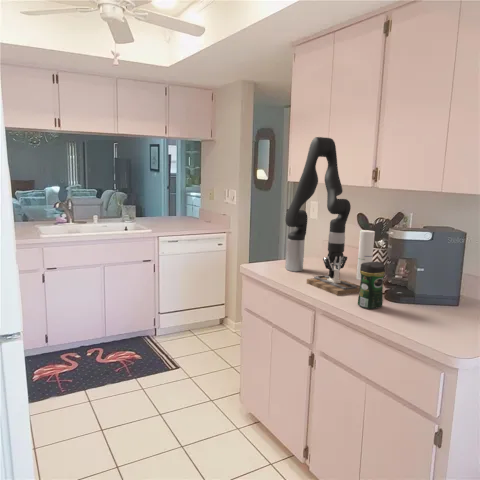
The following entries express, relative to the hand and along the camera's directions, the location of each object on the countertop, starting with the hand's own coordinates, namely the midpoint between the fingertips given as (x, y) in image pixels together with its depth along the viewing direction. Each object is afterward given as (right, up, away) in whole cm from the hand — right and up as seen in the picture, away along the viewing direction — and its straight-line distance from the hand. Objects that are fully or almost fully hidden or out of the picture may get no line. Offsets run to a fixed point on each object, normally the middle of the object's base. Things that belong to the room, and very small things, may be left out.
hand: (333, 277), depth 193 cm
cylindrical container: (+19, -3, +17) cm, 26 cm away
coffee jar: (+8, -10, -27) cm, 30 cm away
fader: (0, -2, 0) cm, 2 cm away
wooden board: (0, -5, 0) cm, 5 cm away
